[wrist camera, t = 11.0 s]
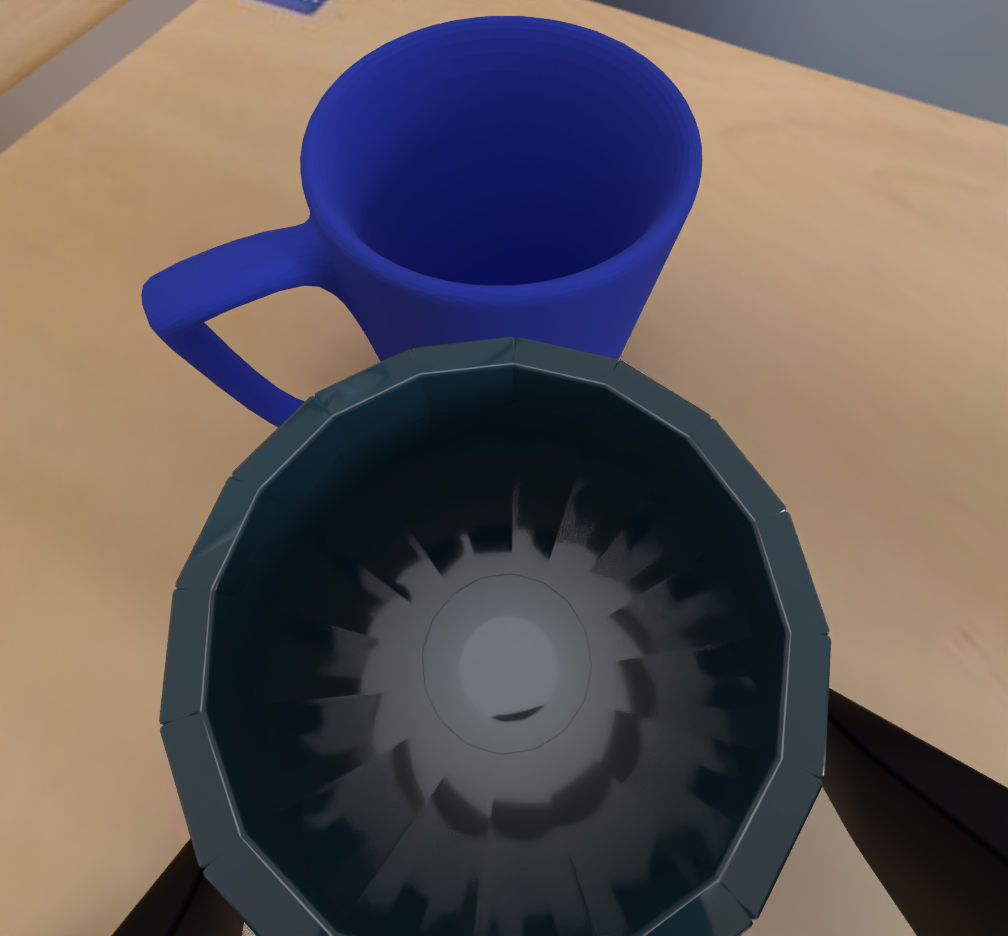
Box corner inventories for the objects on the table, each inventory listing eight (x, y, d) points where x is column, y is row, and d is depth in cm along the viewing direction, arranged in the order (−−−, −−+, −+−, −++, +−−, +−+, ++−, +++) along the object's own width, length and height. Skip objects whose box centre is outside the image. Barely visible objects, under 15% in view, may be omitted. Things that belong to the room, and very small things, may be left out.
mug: (272, 381, 20) (68, 129, 11) (552, 272, 22) (582, -25, 13) (340, 576, 17) (144, 458, 8) (655, 433, 19) (791, 203, 10)
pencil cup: (578, 792, 15) (810, 1189, 3) (386, 732, 16) (21, 888, 4) (616, 592, 17) (843, 406, 5) (446, 546, 18) (318, 290, 6)
